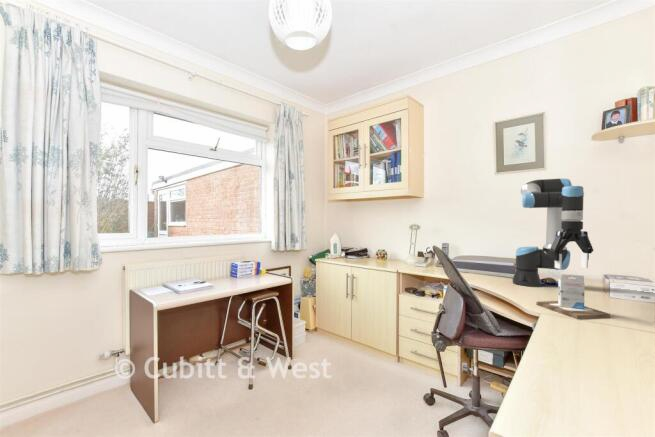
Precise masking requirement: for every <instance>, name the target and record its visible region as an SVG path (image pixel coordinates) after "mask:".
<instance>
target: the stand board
mask: <svg viewBox="0 0 655 437" xmlns="http://www.w3.org/2000/svg"><path fill="white" fill-rule="evenodd" d="M535 304H536V305H537V306H539V307H541V308H545V309H547V310H549V311H550V310H551V311H553V312H556V313H558V314H561V315H564V316H567V317H570V318H572V317H573V318H572V319H576V320H585V319H603V318H606V319H607V318H611V313H608V312H606V311H602V310H598V309H595V308H592V307H589V306H585V305H584V309H576V308H567V307H561V306H560V305H559V304H558V300H544V301H536V303H535Z"/></svg>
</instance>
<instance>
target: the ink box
mask: <svg viewBox="0 0 655 437" xmlns="http://www.w3.org/2000/svg"><path fill="white" fill-rule="evenodd" d="M557 280H558V286H557V287H558V289H557V290H558V292H557V294H558V295H557V296H558V300H557V301H558V304H559V305H560V306H561V307H567V308H576V309H584V306H585V276H584V275H577V274H565V273H561V274H560V278H558V279H557Z"/></svg>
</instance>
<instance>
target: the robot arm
mask: <svg viewBox="0 0 655 437" xmlns="http://www.w3.org/2000/svg"><path fill="white" fill-rule="evenodd" d="M520 193H521V205H522V208H525V209H527V208H528V209H541V208H542V209H543V208H546V231H545V235H546V238H545V244H544V245H543V246H542V248H539V246H520V247H517V248H516V249H515V271H514V275H513V277H512V279H511V282H513V284H514V283H515V285H520V286H524V287H541V286H542V280H541V279H540V275H539V269H546V270H556V271H557V270H558V271H559V270H562V271H564V270H567V269H568V268H569V266H570V262H571V251H570V250H569V249H568V247H567V245H568V243H570V242H575V243H576V245H577V247H578V248H579V249H580V250H581V252H580V268H585V269H588V268H589V259H590V258H589V257H590V254H593V253H592V252H594V248H593V244H592V243H591V240H590V239H589V234H588V231H586V230H585V231H584V230H583V229H584V222H583V220H584V195H585V191H584V186H582V185H573V184H572V182H571V180H570V179H569V178H548V179H547V178H545V179H534V180H531V181H528V182H527V183H525V184H523V186H522V187H521V190H520Z"/></svg>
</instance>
